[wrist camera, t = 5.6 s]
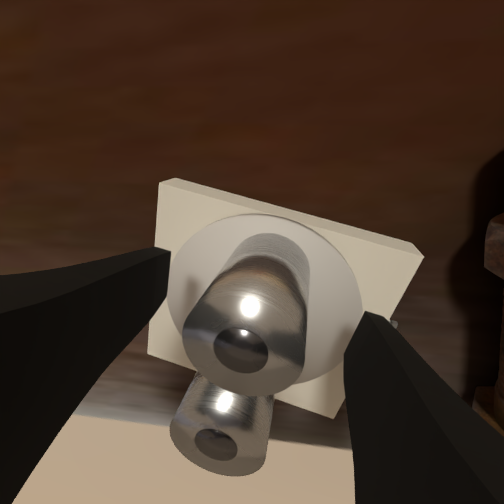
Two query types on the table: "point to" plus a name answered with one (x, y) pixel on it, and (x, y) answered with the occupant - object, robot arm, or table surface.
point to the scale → (321, 277)
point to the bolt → (500, 396)
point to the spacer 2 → (222, 428)
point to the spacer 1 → (253, 318)
